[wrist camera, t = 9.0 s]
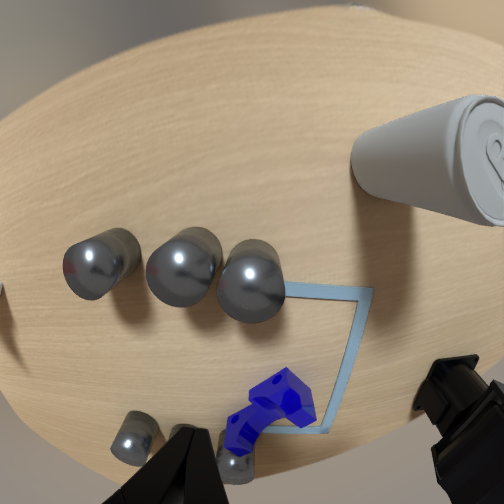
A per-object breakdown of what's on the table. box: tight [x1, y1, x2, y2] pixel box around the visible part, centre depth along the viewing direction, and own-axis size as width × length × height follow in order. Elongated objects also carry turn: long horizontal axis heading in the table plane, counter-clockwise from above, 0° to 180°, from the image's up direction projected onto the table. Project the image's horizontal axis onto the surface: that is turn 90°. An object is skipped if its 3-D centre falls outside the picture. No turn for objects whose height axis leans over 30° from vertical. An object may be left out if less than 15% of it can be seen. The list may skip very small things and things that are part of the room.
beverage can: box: [351, 95, 504, 227], centre depth 12 cm, size 5×5×12 cm
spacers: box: [63, 227, 285, 485], centre depth 20 cm, size 14×23×5 cm, turn 175°
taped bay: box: [261, 281, 374, 434], centre depth 22 cm, size 8×16×1 cm, turn 175°
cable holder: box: [224, 367, 317, 457], centre depth 22 cm, size 8×4×4 cm, turn 131°
